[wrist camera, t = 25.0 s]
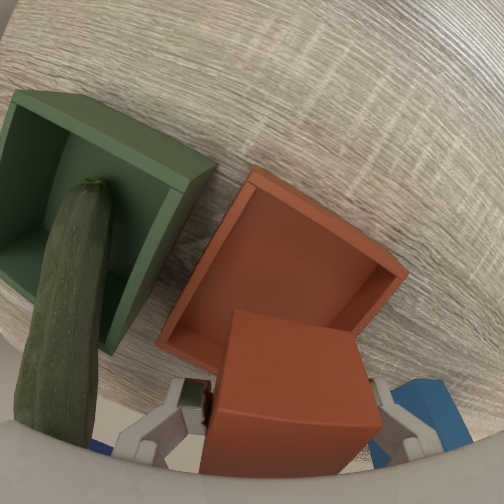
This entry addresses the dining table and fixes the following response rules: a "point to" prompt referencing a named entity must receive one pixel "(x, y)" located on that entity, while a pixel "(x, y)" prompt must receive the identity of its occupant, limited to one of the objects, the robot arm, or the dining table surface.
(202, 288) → the terracotta tray
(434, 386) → the water bottle
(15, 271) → the produce bin
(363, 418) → the terracotta block
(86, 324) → the vegetable
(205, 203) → the dining table surface
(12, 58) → the dining table surface
